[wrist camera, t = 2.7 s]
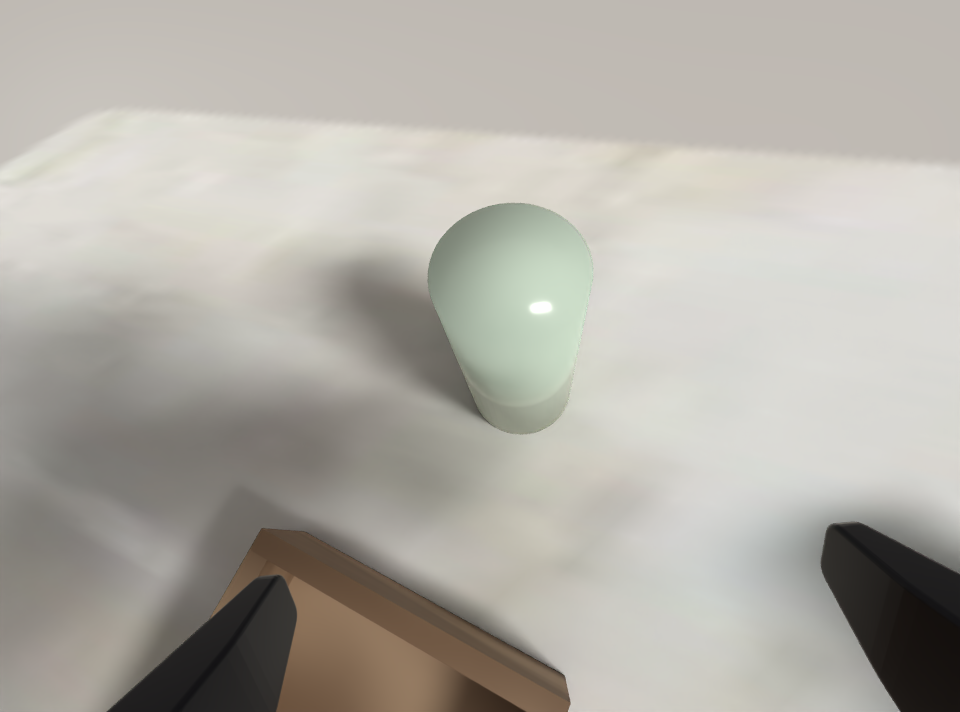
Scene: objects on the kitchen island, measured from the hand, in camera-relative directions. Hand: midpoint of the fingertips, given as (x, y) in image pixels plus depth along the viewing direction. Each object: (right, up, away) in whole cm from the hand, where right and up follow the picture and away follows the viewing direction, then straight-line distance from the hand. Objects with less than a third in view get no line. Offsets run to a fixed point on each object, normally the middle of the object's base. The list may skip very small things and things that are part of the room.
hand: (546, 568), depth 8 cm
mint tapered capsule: (+1, +2, +14) cm, 14 cm away
